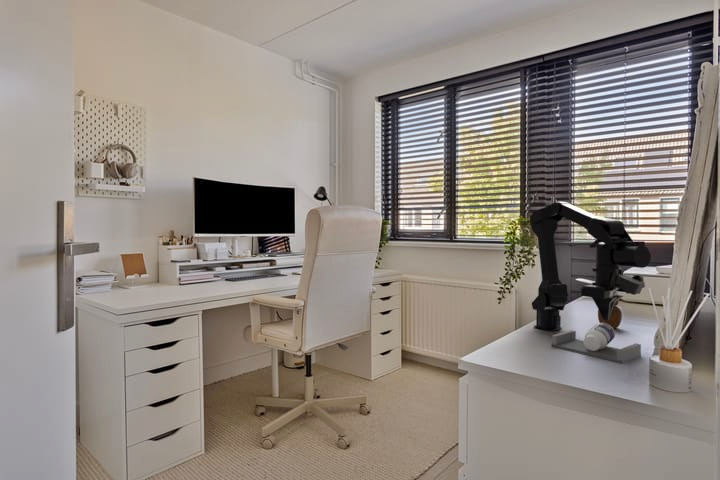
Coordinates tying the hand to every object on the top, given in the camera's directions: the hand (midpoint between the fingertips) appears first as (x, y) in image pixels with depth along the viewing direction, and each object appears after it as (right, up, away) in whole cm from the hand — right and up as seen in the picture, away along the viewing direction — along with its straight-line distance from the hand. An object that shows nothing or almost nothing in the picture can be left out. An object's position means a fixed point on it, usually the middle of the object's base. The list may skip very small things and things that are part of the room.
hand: (606, 320), depth 113 cm
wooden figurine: (+15, -7, +23) cm, 29 cm away
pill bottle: (-1, -3, 0) cm, 3 cm away
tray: (-5, -8, -4) cm, 10 cm away
